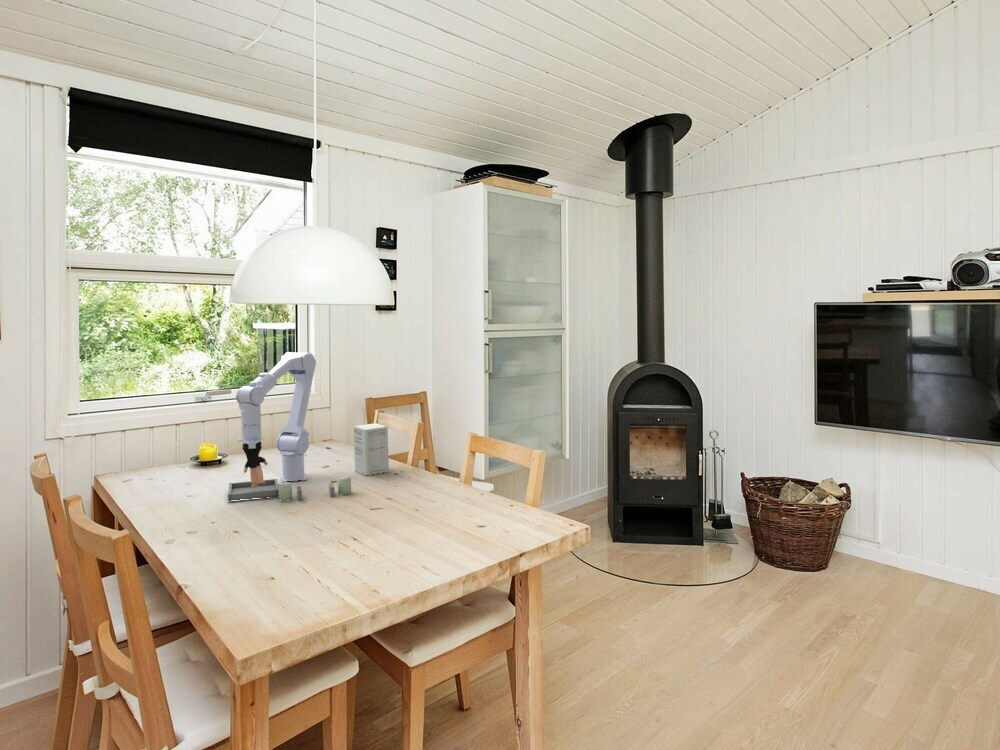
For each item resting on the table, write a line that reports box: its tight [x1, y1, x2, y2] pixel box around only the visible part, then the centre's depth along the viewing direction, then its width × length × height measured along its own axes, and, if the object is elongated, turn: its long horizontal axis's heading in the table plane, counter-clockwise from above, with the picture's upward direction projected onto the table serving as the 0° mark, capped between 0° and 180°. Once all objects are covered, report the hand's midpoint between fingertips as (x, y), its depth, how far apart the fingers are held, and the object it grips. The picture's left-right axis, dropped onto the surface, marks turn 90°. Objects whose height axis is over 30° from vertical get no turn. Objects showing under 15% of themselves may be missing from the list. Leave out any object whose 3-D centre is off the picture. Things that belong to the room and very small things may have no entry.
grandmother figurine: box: [243, 456, 269, 488], centre depth 196 cm, size 8×4×13 cm, turn 144°
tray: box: [227, 478, 279, 502], centre depth 196 cm, size 14×15×2 cm
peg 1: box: [337, 476, 352, 496], centre depth 197 cm, size 4×4×5 cm
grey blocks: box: [296, 482, 336, 501], centre depth 194 cm, size 5×11×3 cm, turn 112°
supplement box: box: [353, 422, 390, 476], centre depth 224 cm, size 10×9×17 cm
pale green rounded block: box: [278, 481, 293, 502], centre depth 190 cm, size 4×4×5 cm
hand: (252, 466), depth 196 cm, fingers closed on grandmother figurine, 3 cm apart
